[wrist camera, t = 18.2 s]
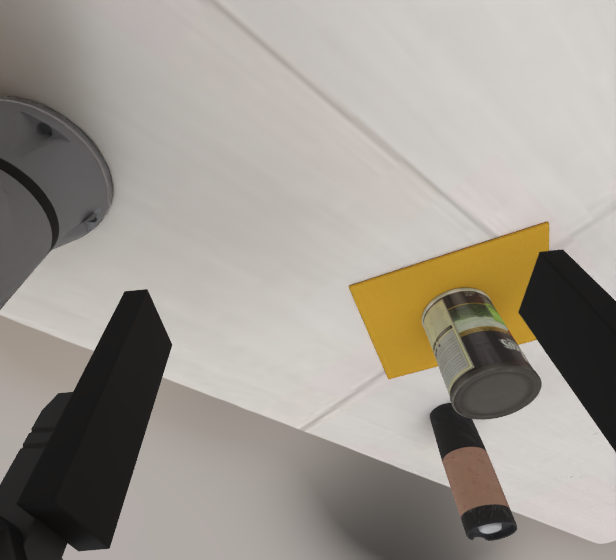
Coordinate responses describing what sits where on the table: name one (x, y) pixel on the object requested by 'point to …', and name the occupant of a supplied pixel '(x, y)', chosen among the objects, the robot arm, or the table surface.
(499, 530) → the travel mug
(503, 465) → the table surface
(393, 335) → the cloth
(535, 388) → the coffee can
